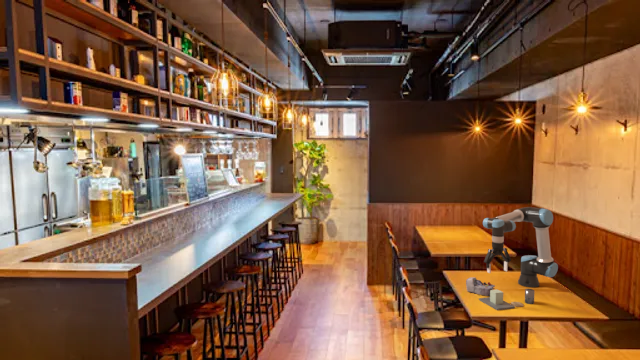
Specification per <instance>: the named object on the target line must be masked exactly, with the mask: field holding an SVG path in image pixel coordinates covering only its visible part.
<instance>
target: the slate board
mask: <svg viewBox="0 0 640 360" xmlns="http://www.w3.org/2000/svg"><path fill="white" fill-rule="evenodd" d="M478 300H479V301H480V302H481V303H483V304H484V305H486V306H489V307H490V308H492V309H494V310H496V311H503V310H504V311H505V310H511V309H516V306H513V305H511V303H508V302H507V301H505V300H503V303H502V304H494V303H492V302H490V296H489V297H488V296H487V297H481V298H480V297H479V298H478Z"/></svg>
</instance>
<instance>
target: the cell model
mask: <svg viewBox="0 0 640 360" xmlns="http://www.w3.org/2000/svg"><path fill="white" fill-rule="evenodd" d="M465 281H466V282H465V285H466V287H465V288H466V291H467V292H469V293H473V294H476V295H480V296H487V297H488V296H490V290H496V289H495V287H496V285H495V284H492V283H490V282H487V281H486V282H485V281H484V282H482V281H481V280H480V279H477V278H476V277H474V276H473V277H472V276H471V277H468V278H466V280H465Z"/></svg>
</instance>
